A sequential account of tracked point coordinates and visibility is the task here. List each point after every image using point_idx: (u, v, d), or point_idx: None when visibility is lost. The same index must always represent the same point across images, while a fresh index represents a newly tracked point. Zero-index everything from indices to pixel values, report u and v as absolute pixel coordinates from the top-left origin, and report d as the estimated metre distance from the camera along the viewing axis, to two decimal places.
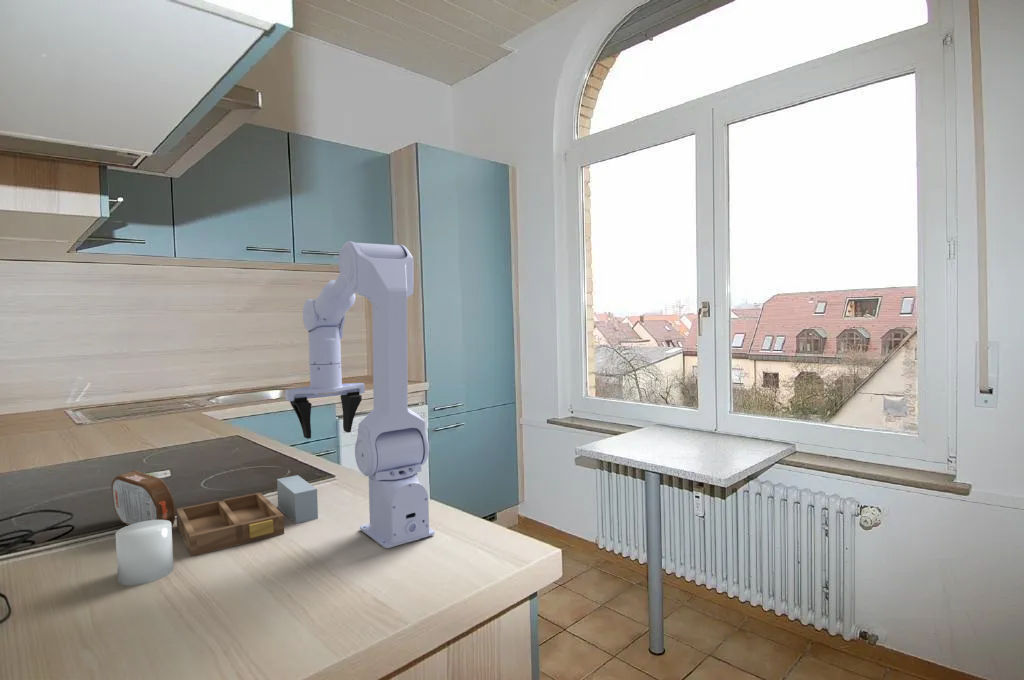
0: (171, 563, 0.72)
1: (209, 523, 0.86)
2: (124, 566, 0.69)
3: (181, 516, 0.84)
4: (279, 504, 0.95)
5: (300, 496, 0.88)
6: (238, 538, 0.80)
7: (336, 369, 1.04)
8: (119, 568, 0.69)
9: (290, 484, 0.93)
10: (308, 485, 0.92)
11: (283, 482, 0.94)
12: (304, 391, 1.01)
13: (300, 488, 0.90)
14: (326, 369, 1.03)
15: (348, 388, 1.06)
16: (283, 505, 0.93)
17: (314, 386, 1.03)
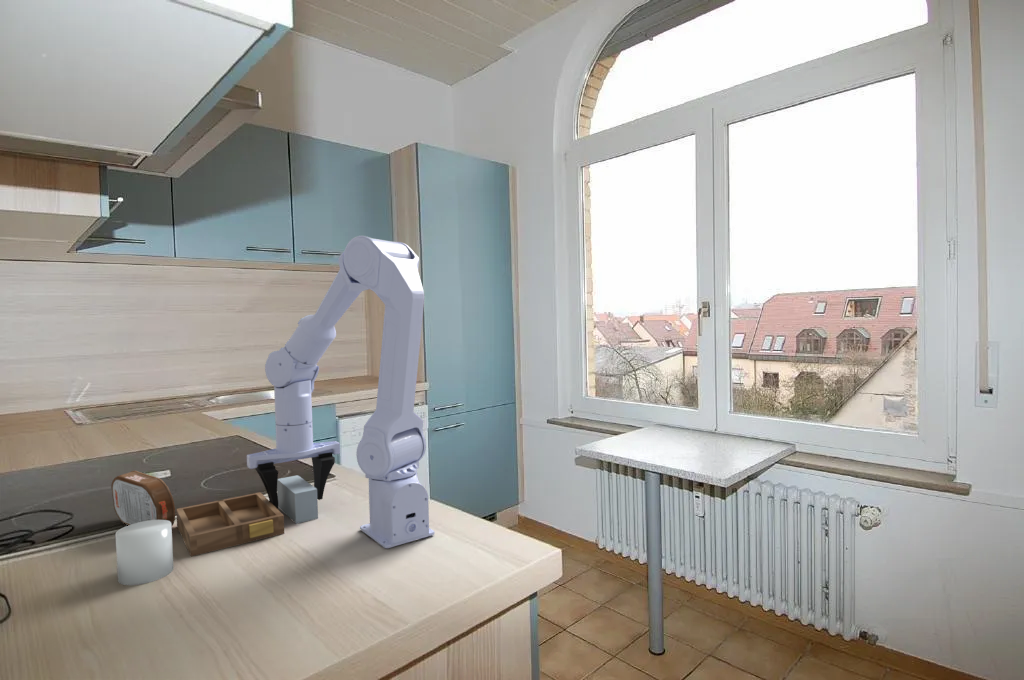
0: (171, 563, 0.72)
1: (209, 523, 0.86)
2: (124, 566, 0.69)
3: (181, 516, 0.84)
4: (279, 504, 0.95)
5: (301, 496, 0.88)
6: (238, 538, 0.80)
7: (306, 430, 0.91)
8: (119, 568, 0.69)
9: (290, 484, 0.93)
10: (308, 485, 0.92)
11: (283, 482, 0.94)
12: (268, 456, 0.89)
13: (300, 488, 0.90)
14: (294, 431, 0.90)
15: (320, 450, 0.93)
16: (283, 505, 0.93)
17: (280, 450, 0.90)
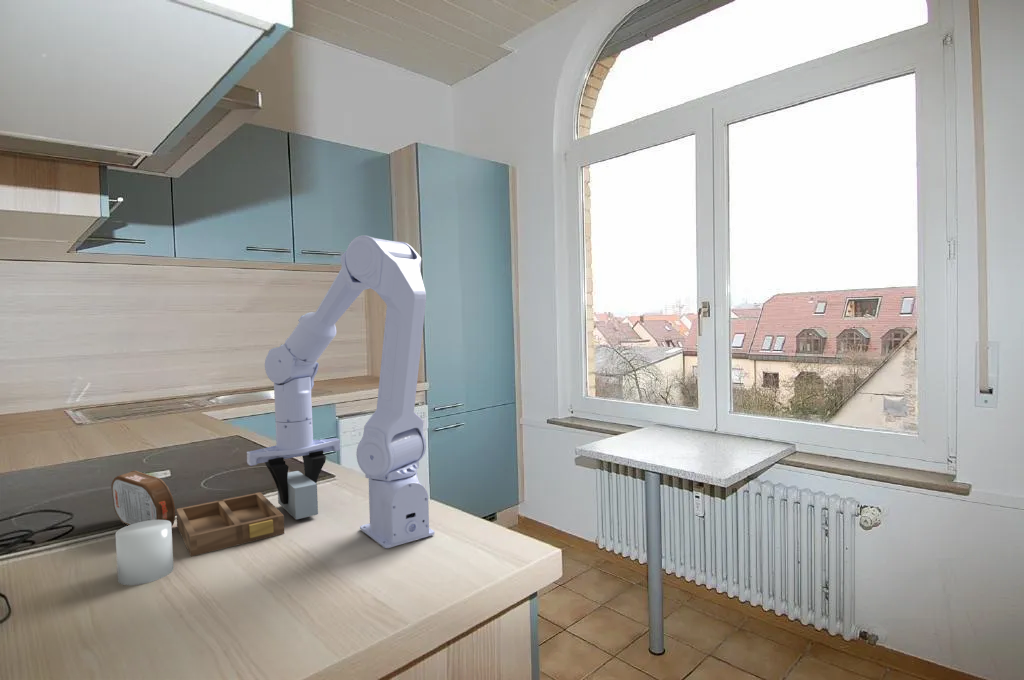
0: (171, 563, 0.72)
1: (209, 523, 0.86)
2: (124, 566, 0.69)
3: (181, 516, 0.84)
4: (279, 499, 0.95)
5: (300, 491, 0.88)
6: (238, 538, 0.80)
7: (306, 426, 0.91)
8: (119, 568, 0.69)
9: (290, 479, 0.93)
10: (308, 480, 0.92)
11: None
12: (268, 453, 0.88)
13: (300, 483, 0.90)
14: (294, 427, 0.90)
15: (320, 447, 0.93)
16: None
17: (280, 447, 0.90)
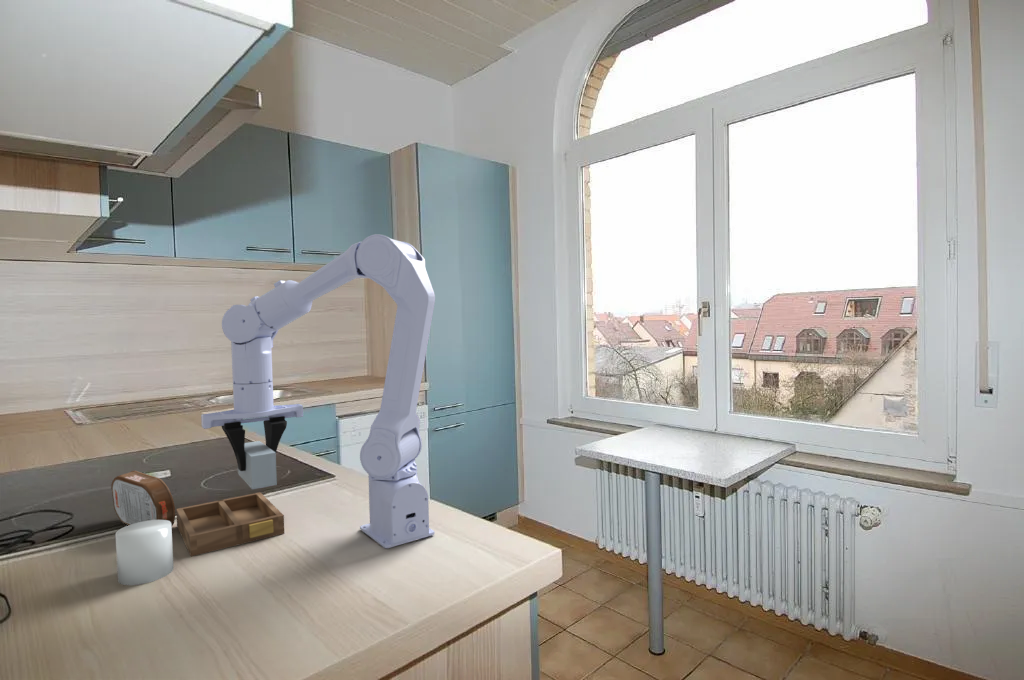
0: (171, 563, 0.72)
1: (209, 523, 0.86)
2: (124, 566, 0.69)
3: (181, 516, 0.84)
4: (239, 470, 0.90)
5: (257, 459, 0.84)
6: (238, 538, 0.80)
7: (265, 389, 0.86)
8: (119, 568, 0.69)
9: (249, 448, 0.88)
10: (267, 449, 0.87)
11: None
12: (224, 416, 0.84)
13: (258, 451, 0.86)
14: (251, 389, 0.85)
15: (281, 411, 0.88)
16: (242, 471, 0.88)
17: (237, 410, 0.85)
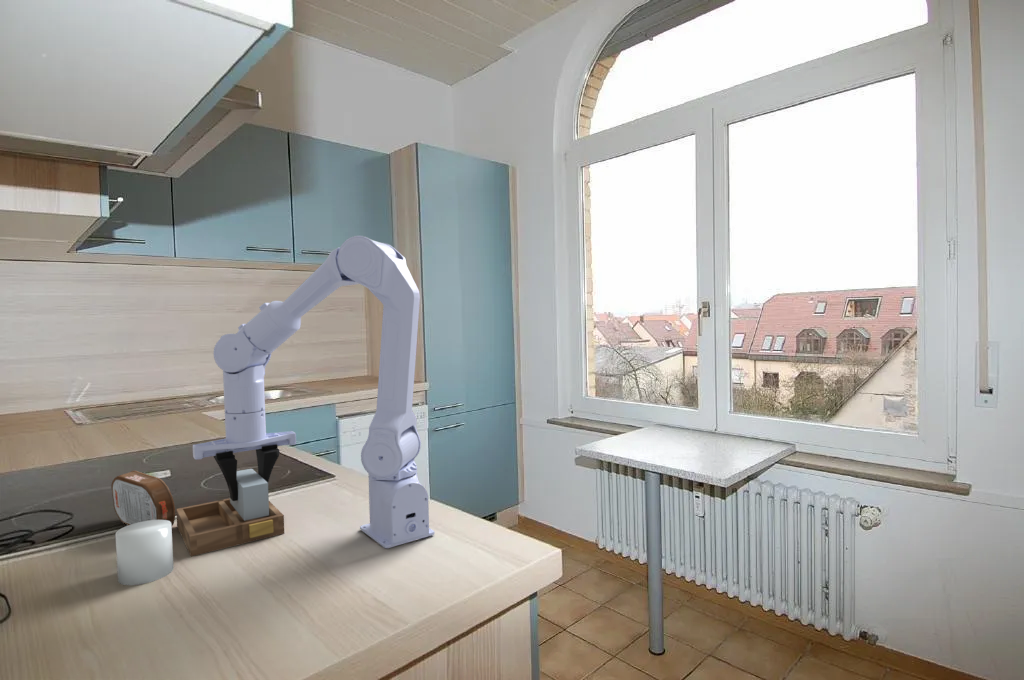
0: (171, 563, 0.72)
1: (209, 523, 0.86)
2: (124, 566, 0.69)
3: (181, 516, 0.84)
4: None
5: (249, 490, 0.83)
6: (238, 538, 0.80)
7: (257, 418, 0.85)
8: (119, 568, 0.69)
9: (241, 477, 0.87)
10: (259, 479, 0.86)
11: None
12: (215, 447, 0.83)
13: (250, 482, 0.85)
14: (244, 419, 0.84)
15: (273, 440, 0.88)
16: None
17: (229, 439, 0.84)
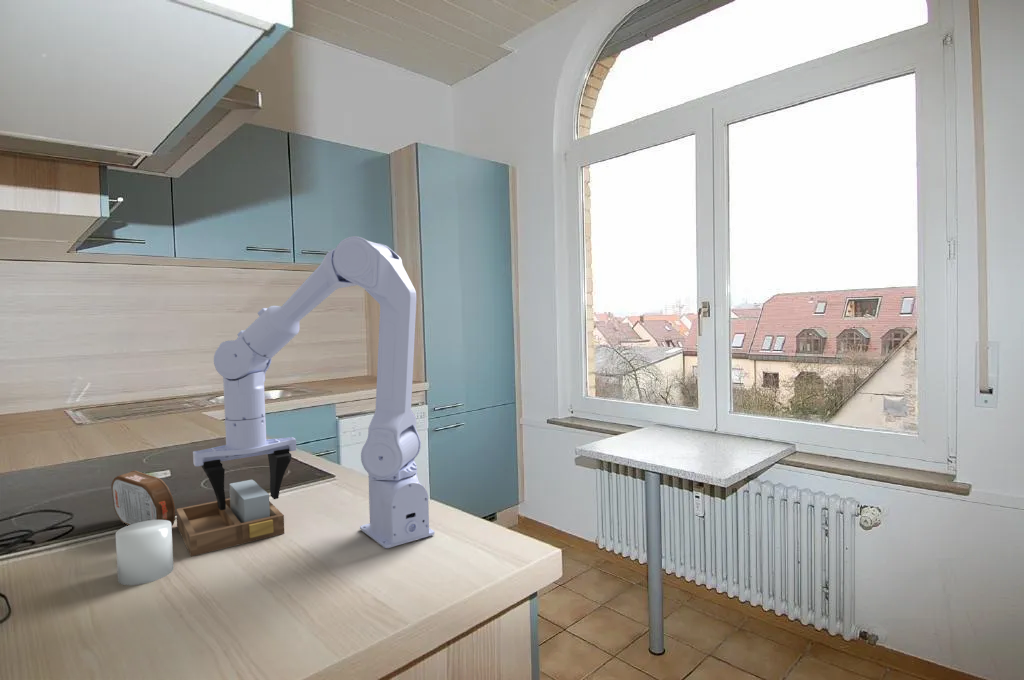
0: (171, 563, 0.72)
1: (209, 523, 0.86)
2: (124, 566, 0.69)
3: (181, 516, 0.84)
4: (231, 510, 0.90)
5: (251, 502, 0.83)
6: (238, 538, 0.80)
7: (257, 425, 0.85)
8: (119, 568, 0.69)
9: (242, 489, 0.87)
10: (260, 490, 0.86)
11: (235, 487, 0.88)
12: (216, 453, 0.83)
13: (251, 493, 0.85)
14: (244, 426, 0.84)
15: (274, 446, 0.88)
16: (234, 511, 0.88)
17: (230, 446, 0.84)
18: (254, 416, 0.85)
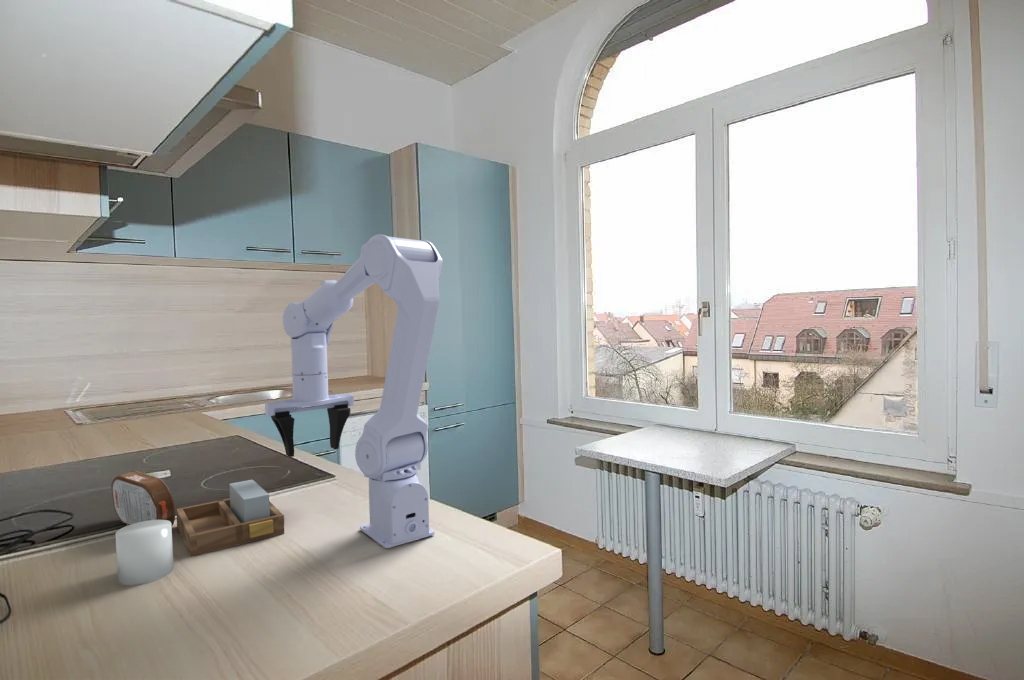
0: (171, 563, 0.72)
1: (209, 523, 0.86)
2: (124, 566, 0.69)
3: (181, 516, 0.84)
4: (231, 510, 0.90)
5: (251, 502, 0.83)
6: (238, 538, 0.80)
7: (322, 380, 0.94)
8: (119, 568, 0.69)
9: (242, 489, 0.87)
10: (260, 490, 0.86)
11: (235, 487, 0.88)
12: (286, 404, 0.91)
13: (251, 493, 0.85)
14: (311, 380, 0.93)
15: (335, 400, 0.96)
16: (234, 511, 0.88)
17: (297, 399, 0.93)
18: (311, 372, 0.93)
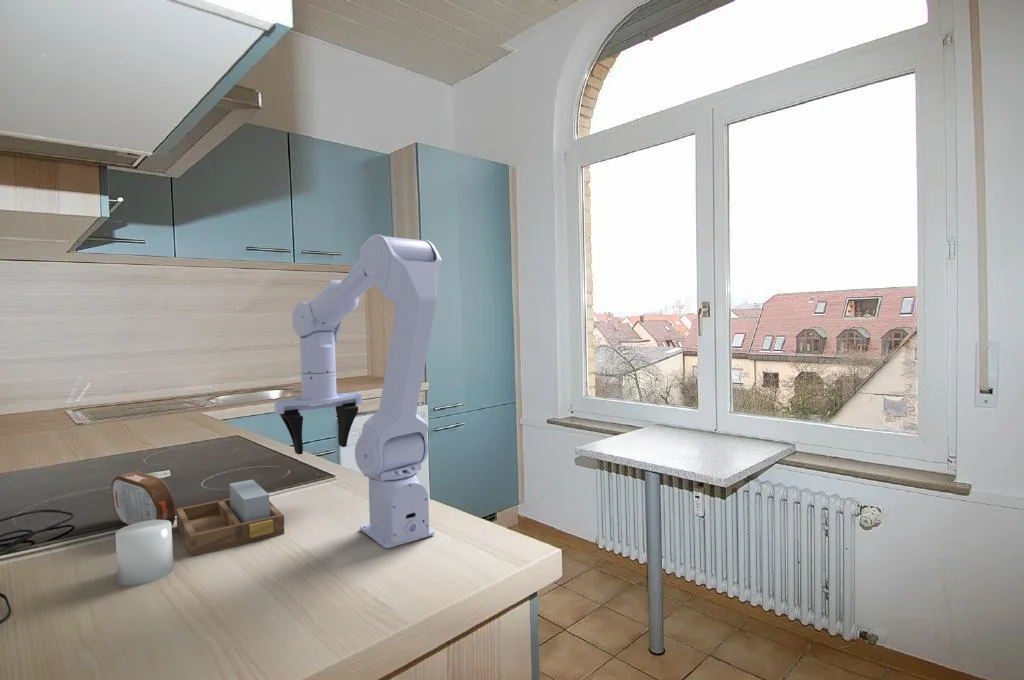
0: (171, 563, 0.72)
1: (209, 523, 0.86)
2: (124, 566, 0.69)
3: (181, 516, 0.84)
4: (231, 510, 0.90)
5: (251, 502, 0.83)
6: (238, 538, 0.80)
7: (330, 378, 0.95)
8: (119, 568, 0.69)
9: (242, 489, 0.87)
10: (260, 490, 0.86)
11: (235, 487, 0.88)
12: (295, 403, 0.93)
13: (251, 493, 0.85)
14: (319, 378, 0.94)
15: (343, 399, 0.97)
16: (234, 511, 0.88)
17: (306, 397, 0.94)
18: (318, 371, 0.94)
